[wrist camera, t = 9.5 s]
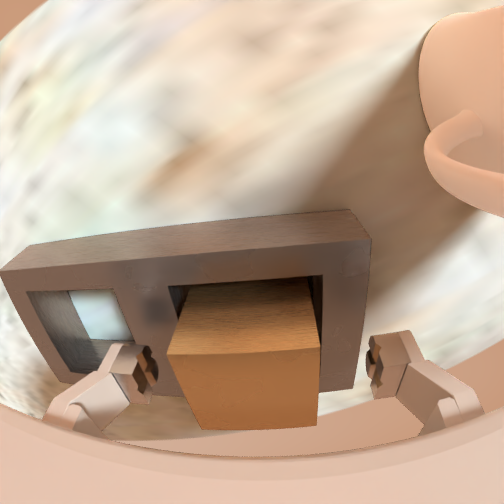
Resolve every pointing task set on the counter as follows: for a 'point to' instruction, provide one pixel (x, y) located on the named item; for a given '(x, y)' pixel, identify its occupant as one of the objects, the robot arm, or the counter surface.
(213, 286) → the wooden toy block
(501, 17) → the mug
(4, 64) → the counter surface
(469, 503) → the robot arm
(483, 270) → the counter surface
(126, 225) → the counter surface
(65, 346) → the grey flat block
